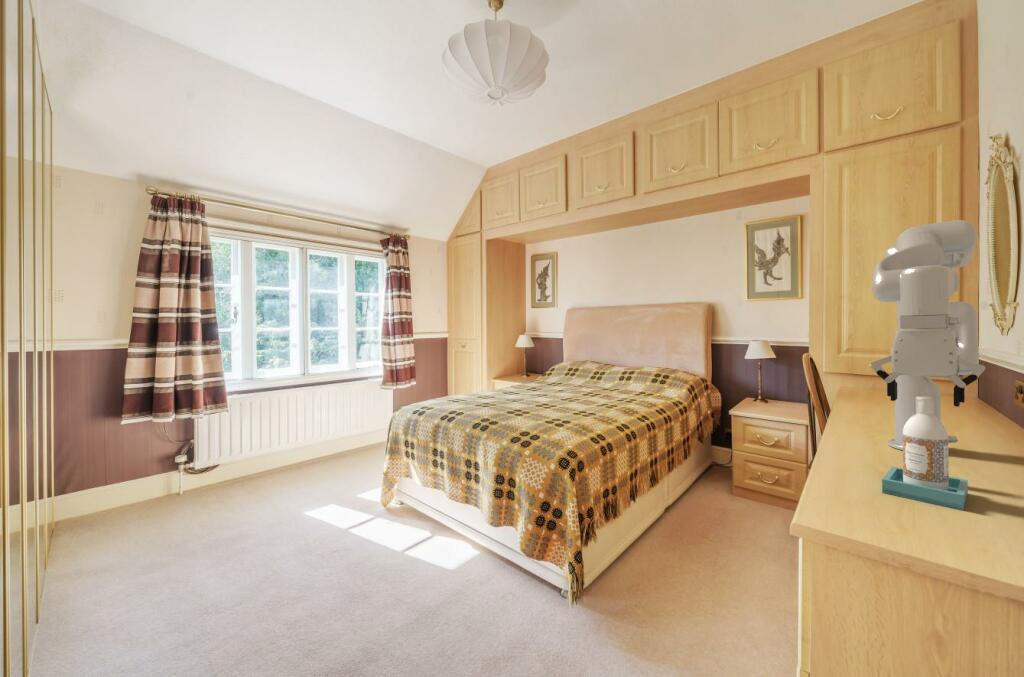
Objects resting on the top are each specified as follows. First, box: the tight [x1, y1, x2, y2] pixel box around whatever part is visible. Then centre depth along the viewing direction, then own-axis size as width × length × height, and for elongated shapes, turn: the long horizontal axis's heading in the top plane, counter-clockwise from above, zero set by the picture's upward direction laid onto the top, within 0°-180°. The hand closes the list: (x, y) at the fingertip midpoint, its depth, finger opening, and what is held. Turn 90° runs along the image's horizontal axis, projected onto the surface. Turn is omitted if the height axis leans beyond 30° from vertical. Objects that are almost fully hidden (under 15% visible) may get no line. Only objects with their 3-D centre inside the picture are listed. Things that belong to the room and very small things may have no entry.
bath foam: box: [902, 396, 950, 491], centre depth 88 cm, size 7×7×20 cm
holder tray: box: [881, 466, 969, 512], centre depth 89 cm, size 12×12×3 cm
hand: (924, 402), depth 89 cm, fingers open, 9 cm apart
